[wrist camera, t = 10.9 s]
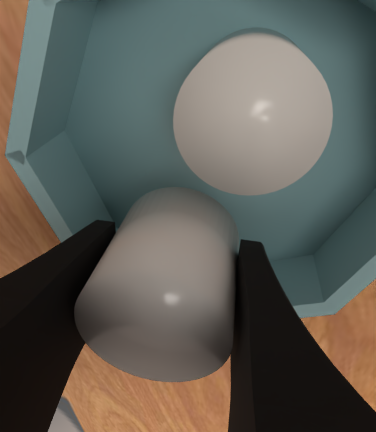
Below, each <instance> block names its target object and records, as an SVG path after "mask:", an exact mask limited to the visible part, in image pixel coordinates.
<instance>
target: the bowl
mask: <svg viewBox="0 0 376 432" xmlns="http://www.w3.org/2000/svg"><path fill="white" fill-rule="evenodd" d="M252 27H261V28H268V29H272V30H275V31H277V32H279V33H281V34H283V35H285V36H286V37H288V38H289V39H291V40H292V41H293V42H294V43H295V44H296V45H297V46H298V47H299V48H300V50H301V51H302V52H303V53H304V54H305V55H306V56H307V57H308V58H309V60H310V61H311V62H312V63H313V64H314V65H315V66H316V68H317V69H318V70H319V72H320V73H321V74H322V76H323V78H324V80H325V82H326V84H327V87H328V89H329V92H330V96H331V101H332V108H333V119H332V128H331V132H330V136H329V139H328V142H327V144H326V147H325V149H324V151H323V152H322V154H321V156H320V157H319V159H318V160H317V162H316V163H315V164H314V165H313V167H312V168H311V169H310V170H309V171H308V172H307V173H306V174H305V175H303V176H302V177H301V178H300V179H298V180H297V181H295V182H294V183H292V184H290V185H289V186H287V187H285V188H283V189H280V190H277V191H275V192H271V193H267V194H262V195H249V196H247V195H237V194H231V193H227V192H224V191H221V190H219V189H217V188H214V187H212V186H211V185H209V184H207V183H206V182H204V181H203V180H202V179H200V178H199V177H198V176H197V175H196V174H195V173H194V172H193V171H192V170H191V169H190V168H189V166H188V165H187V164H186V162H185V161H184V159H183V157H182V156H181V154H180V151H179V149H178V147H177V143H176V140H175V135H174V129H173V115H174V107H175V103H176V99H177V96H178V93H179V91H180V88H181V86H182V85H183V83H184V81H185V79H186V78H187V76H188V75H189V74H190V72H191V71H192V70H193V68H194V67H195V66H196V65H197V64H198V63H199V62H200V60H201V59H202V58H203V57H204V56H205V55H206V54H207V52H208V51H209V50H210V49H211V48H212V47H213V46H214V45H215V44H216V43H217V42H218V41H219V40H221V39H222V38H224V37H225V36H227V35H228V34H230V33H233V32H235V31H238V30H241V29H245V28H252ZM5 156H6V158H7V159H8V161H9V162H10V164H11V166H12V167H13V169H14V170H15V172H16V173H17V175H18V176H19V178H20V180H21V181H22V183H23V184H24V186H25V187H26V189H27V190H28V192H29V194H30V195H31V197H32V198H33V200H34V201H35V203H36V204H37V206H38V208H39V209H40V211H41V212H42V214H43V215H44V217H45V219H46V220H47V222H48V223H49V225H50V226H51V228H52V229H53V231H54V233H55V234H56V236H57V237H58V239H59V240H60V242H61V243H62V242H63V241H65V240H66V239H68V238H69V237H71V236H72V235H74V234H75V233H77V232H78V231H80V230H81V229H83V228H84V227H86V226H87V225H89V224H91V223H92V222H94V221H96V220H104V221H111V222H115V228H116V232H117V230H118V229H119V227H120V225H121V223H122V222H123V220H124V218H125V217H126V215H127V213H128V212H129V210H130V208H131V207H132V206H133V204H134V203H135V202H136V201H137V200H138V199H139V198H141V197H142V196H144V195H145V194H147V193H149V192H151V191H154V190H157V189H161V188H166V187H183V188H189V189H193V190H197V191H200V192H202V193H204V194H207V195H208V196H210V197H212V198H214V199H215V200H216V201H218V202H219V203H220V204H221V205H222V206H223V207H225V208H226V210H227V211H228V212H229V213H230V215H231V216H232V218H233V219H234V221H235V223H236V226H237V229H238V233H239V247H240V241H241V239H244V240H251V241H258V242H261V243H262V244H263V245H264V248H265V251H266V254H267V256H268V259H269V261H270V264H271V266H272V268H273V270H274V272H275V275H276V277H277V279H278V281H279V283H280V284H281V286H282V288H283V290H284V292H285V294H286V296H287V298H288V299H289V301H290V303H291V305H292V306H293V308H294V309H295V311H296V313H297V314H298V316H299V318H304V317H314V316H323V315H333V314H335V313H337V312H338V311H339V310H340V309H341V308H342V307H344V306H345V305H346V304H347V303H348V302H349V301H350V300H352V299H353V298H354V297H355V296H356V295H357V294H359V293H360V292H361V291H362V290H363V289H364V288H365V287H367V286H368V285H369V284H370V283H371V282H372V281H374V280H375V279H376V0H29V4H28V10H27V16H26V23H25V29H24V36H23V42H22V49H21V55H20V61H19V68H18V74H17V81H16V87H15V94H14V100H13V107H12V113H11V119H10V126H9V132H8V139H7V145H6V152H5Z"/></svg>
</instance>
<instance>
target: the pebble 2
mask: <svg viewBox="0 0 376 432" xmlns="http://www.w3.org/2000/svg"><path fill="white" fill-rule="evenodd" d="M332 119H333V108H332V101H331V96H330V92H329V89H328V87H327V84H326V82H325V80H324V78H323V76H322V74H321V73H320V72H319V70H318V69H317V68H316V66H315V65H314V64H313V63H312V62H311V61H310V60H309V58H308V57H307V56H306V55H305V54H304V53H303V52H302V51H301V50H300V48H299V47H298V46H297V45H296V44H295V43H294V42H293V41H292V40H291V39H289V38H288V37H286V36H285V35H283V34H281V33H279V32H277V31H275V30H272V29H268V28H261V27H252V28H245V29H241V30H238V31H235V32H233V33H230V34H228V35H227V36H225V37H224V38H222V39H221V40H219V41H218V42H217V43H216V44H215V45H214V46H213V47H212V48H211V49H210V50H209V51H208V52H207V54H206V55H205V56H204V57H203V58H202V59H201V60H200V62H199V63H198V64H197V65H196V66H195V67H194V68H193V70H192V71H191V72H190V74H189V75H188V76H187V78H186V79H185V81H184V83H183V85H182V86H181V88H180V91H179V93H178V96H177V99H176V103H175V107H174V115H173V129H174V135H175V140H176V143H177V147H178V149H179V151H180V154H181V156H182V157H183V159H184V161H185V162H186V164H187V165H188V166H189V168H190V169H191V170H192V171H193V172H194V173H195V174H196V175H197V176H198V177H199V178H200V179H202V180H203V181H204V182H206V183H207V184H209V185H211V186H212V187H214V188H217V189H219V190H221V191H224V192H227V193H231V194H237V195H247V196H249V195H262V194H267V193H271V192H275V191H277V190H280V189H283V188H285V187H287V186H289V185H290V184H292V183H294V182H295V181H297V180H298V179H300V178H301V177H302V176H303V175H305V174H306V173H307V172H308V171H309V170H310V169H311V168H312V167H313V165H314V164H315V163H316V162H317V160H318V159H319V157H320V156H321V154H322V152H323V151H324V149H325V147H326V144H327V142H328V139H329V136H330V132H331V128H332Z"/></svg>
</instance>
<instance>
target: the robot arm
mask: <svg viewBox="0 0 376 432" xmlns="http://www.w3.org/2000/svg"><path fill="white" fill-rule="evenodd" d="M115 234H116V228H115V222H111V221H104V220H96V221H94V222H92V223H91V224H89V225H87V226H86V227H84V228H83V229H81V230H80V231H78V232H77V233H75V234H74V235H72V236H71V237H69V238H68V239H66V240H65V241H63V242H62V243H60V244H58V245H57V246H55V247H54V248H52V249H51V250H49V251H48V252H46V253H44V254H43V255H41V256H39V257H38V258H36V259H34V260H32V261H31V262H29V263H27V264H26V265H24V266H22V267H21V268H19V269H17V270H15V271H13V272H12V273H10V274H8V275H6V276H4V277H2V278H0V432H48V429H49V427H50V424H51V421H52V419H53V416H54V414H55V411H56V408H57V406H58V403H59V400H60V398H61V395H62V393H63V391H64V388H65V386H66V383H67V381H68V378H69V376H70V373H71V371H72V369H73V366H74V364H75V362H76V360H77V358H78V356H79V354H80V352H81V350H82V348H83V346H84V344H85V341H84V340H83V338H82V337H81V335H80V333H79V331H78V329H77V326H76V323H75V318H74V308H75V304H76V300H77V298H78V297H79V295H80V293H81V291H82V290H83V288H84V286H85V284H86V283H87V281H88V279H89V278H90V276H91V274H92V273H93V271H94V269H95V268H96V266H97V264H98V262H99V261H100V259H101V257H102V256H103V254H104V252H105V251H106V249H107V247H108V245H109V244H110V242H111V240H112V239H113V237H114V235H115ZM228 432H376V412H375V411H374V410H373V409H372V408H371V406H370V405H369V404H368V403H367V402H366V401H365V400H364V399H363V398H362V397H361V396H360V395H359V393H358V392H357V391H356V390H355V389H354V388H353V387H352V385H351V384H350V383H349V382H348V381H347V380H346V379H345V377H344V376H343V375H342V374H341V373H340V372H339V371H338V369H337V368H336V367H335V366H334V365H333V363H332V362H331V361H330V359H329V358H328V357H327V356H326V354H325V353H324V352H323V350H322V349H321V348H320V347H319V345H318V344H317V342H316V341H315V340H314V338H313V337H312V336H311V334H310V333H309V331H308V330H307V328H306V327H305V325H304V324H303V322H302V321H301V319H300V318H299V316H298V314H297V313H296V311H295V309H294V308H293V306H292V305H291V303H290V301H289V299H288V298H287V296H286V294H285V292H284V290H283V288H282V286H281V284H280V283H279V281H278V279H277V277H276V275H275V272H274V270H273V268H272V266H271V264H270V261H269V259H268V256H267V254H266V251H265V248H264V245H263V244H262V243H261V242H258V241H251V240H244V239H241V241H240V247H239V253H238V265H237V285H236V301H235V317H234V332H233V346H232V350H231V400H230V413H229V426H228Z"/></svg>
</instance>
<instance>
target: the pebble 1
mask: <svg viewBox="0 0 376 432" xmlns="http://www.w3.org/2000/svg"><path fill="white" fill-rule="evenodd" d="M238 253H239V233H238V229H237V226H236V223H235V221H234V219H233V218H232V216H231V215H230V213H229V212H228V211H227V210H226V208H225V207H223V206H222V205H221V204H220V203H219V202H218V201H216V200H215V199H214V198H212V197H210V196H208V195H207V194H204V193H202V192H200V191H197V190H193V189H189V188H183V187H166V188H161V189H157V190H154V191H151V192H149V193H147V194H145V195H144V196H142V197H141V198H139V199H138V200H137V201H136V202H135V203H134V204H133V206H132V207H131V208H130V210H129V212H128V213H127V215H126V217H125V218H124V220H123V222H122V223H121V225H120V227H119V229H118V230H117V232H116V234H115V235H114V237H113V239H112V240H111V242H110V244H109V245H108V247H107V249H106V251H105V252H104V254H103V256H102V257H101V259H100V261H99V262H98V264H97V266H96V268H95V269H94V271H93V273H92V274H91V276H90V278H89V279H88V281H87V283H86V284H85V286H84V288H83V290H82V291H81V293H80V295H79V297H78V298H77V300H76V304H75V308H74V318H75V323H76V326H77V329H78V331H79V333H80V335H81V337H82V338H83V340H84V341H85V343H86V344H87V345H88V346H89V347H90V348H91V349H92V350H93V351H94V352H95V353H96V354H97V355H98V356H99V357H101V358H102V359H103V360H105V361H106V362H108V363H109V364H111V365H113V366H114V367H116V368H118V369H120V370H122V371H124V372H127V373H129V374H132V375H135V376H138V377H141V378H145V379H149V380H155V381H162V382H184V381H191V380H196V379H199V378H203V377H205V376H208V375H210V374H212V373H213V372H215V371H217V370H218V369H219V368H220V367H221V366H223V364H224V363H225V362H226V361H227V359H228V358H229V356H230V354H231V350H232V346H233V332H234V317H235V301H236V285H237V265H238Z"/></svg>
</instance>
